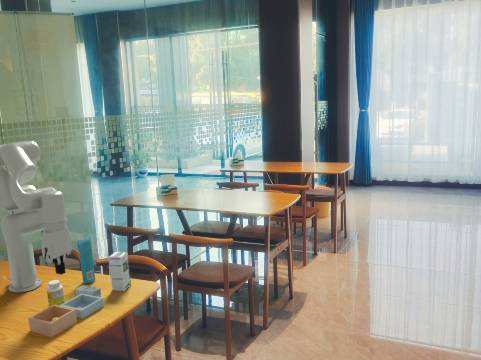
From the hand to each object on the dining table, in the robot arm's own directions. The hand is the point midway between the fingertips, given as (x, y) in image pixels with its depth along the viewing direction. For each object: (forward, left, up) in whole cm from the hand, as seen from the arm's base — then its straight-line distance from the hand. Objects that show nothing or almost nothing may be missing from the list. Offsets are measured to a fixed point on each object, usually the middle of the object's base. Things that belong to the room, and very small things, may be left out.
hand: (60, 273), depth 169 cm
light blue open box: (+8, 0, -14) cm, 16 cm away
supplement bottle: (-4, -1, -14) cm, 15 cm away
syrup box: (+7, +22, -14) cm, 28 cm away
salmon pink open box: (+8, -13, -14) cm, 21 cm away
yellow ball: (+9, -12, -13) cm, 20 cm away
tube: (-11, +22, -14) cm, 29 cm away
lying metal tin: (+1, +10, -14) cm, 18 cm away
